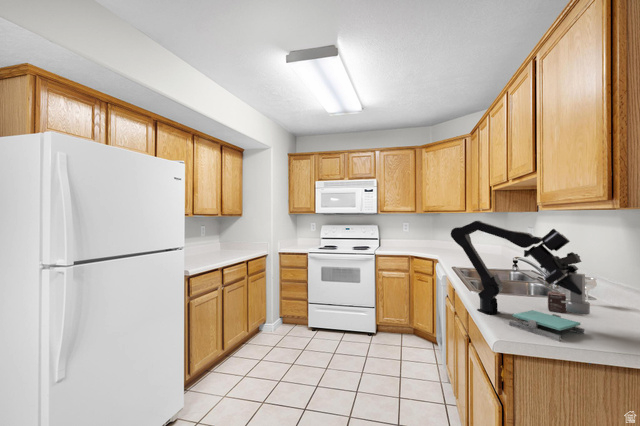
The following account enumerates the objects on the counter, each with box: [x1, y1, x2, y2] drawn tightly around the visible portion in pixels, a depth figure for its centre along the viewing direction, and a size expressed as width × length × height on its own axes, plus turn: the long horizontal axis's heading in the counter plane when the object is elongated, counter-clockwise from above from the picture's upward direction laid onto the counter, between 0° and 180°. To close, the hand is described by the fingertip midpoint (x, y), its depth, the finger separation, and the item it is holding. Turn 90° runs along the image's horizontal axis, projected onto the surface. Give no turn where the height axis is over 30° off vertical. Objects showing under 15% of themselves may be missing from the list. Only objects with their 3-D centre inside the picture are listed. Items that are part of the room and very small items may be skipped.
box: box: [547, 291, 567, 314], centre depth 135 cm, size 6×6×7 cm
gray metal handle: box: [566, 272, 591, 316], centre depth 113 cm, size 7×7×14 cm
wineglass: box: [585, 276, 598, 307], centre depth 144 cm, size 7×7×12 cm
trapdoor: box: [512, 309, 581, 331], centre depth 113 cm, size 16×12×2 cm
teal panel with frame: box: [508, 313, 585, 342], centre depth 113 cm, size 17×15×4 cm
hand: (582, 293), depth 111 cm, fingers closed on gray metal handle, 3 cm apart
